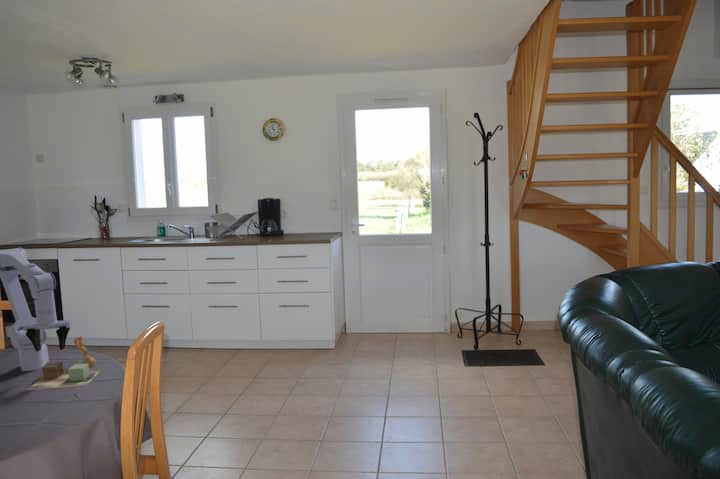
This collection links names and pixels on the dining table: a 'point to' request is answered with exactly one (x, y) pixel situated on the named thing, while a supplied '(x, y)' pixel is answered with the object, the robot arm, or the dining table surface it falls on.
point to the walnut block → (52, 370)
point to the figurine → (88, 359)
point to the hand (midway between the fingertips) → (50, 349)
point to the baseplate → (62, 381)
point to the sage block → (78, 372)
